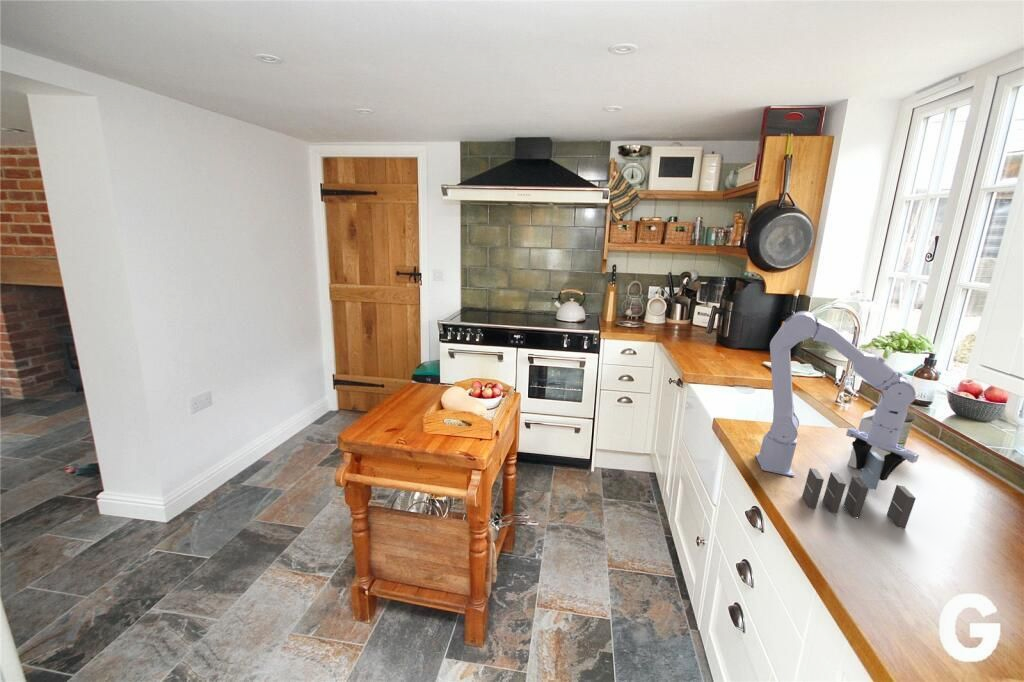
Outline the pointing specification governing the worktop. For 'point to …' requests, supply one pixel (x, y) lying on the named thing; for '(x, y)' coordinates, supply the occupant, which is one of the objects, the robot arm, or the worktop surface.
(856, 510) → the tile
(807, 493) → the tile
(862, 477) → the tile
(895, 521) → the tile
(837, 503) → the tile
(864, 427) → the milk carton
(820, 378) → the worktop surface
